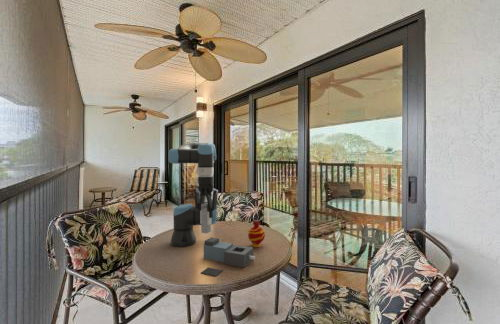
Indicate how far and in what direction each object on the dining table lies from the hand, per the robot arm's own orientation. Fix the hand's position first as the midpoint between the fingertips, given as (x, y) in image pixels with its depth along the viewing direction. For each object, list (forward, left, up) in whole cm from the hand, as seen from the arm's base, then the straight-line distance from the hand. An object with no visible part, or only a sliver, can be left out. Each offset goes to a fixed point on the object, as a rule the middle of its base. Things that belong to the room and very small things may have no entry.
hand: (205, 223), depth 125 cm
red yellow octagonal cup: (+13, +35, -20) cm, 42 cm away
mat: (+7, -6, -20) cm, 22 cm away
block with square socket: (+7, +10, -20) cm, 23 cm away
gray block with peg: (0, 0, -4) cm, 4 cm away
